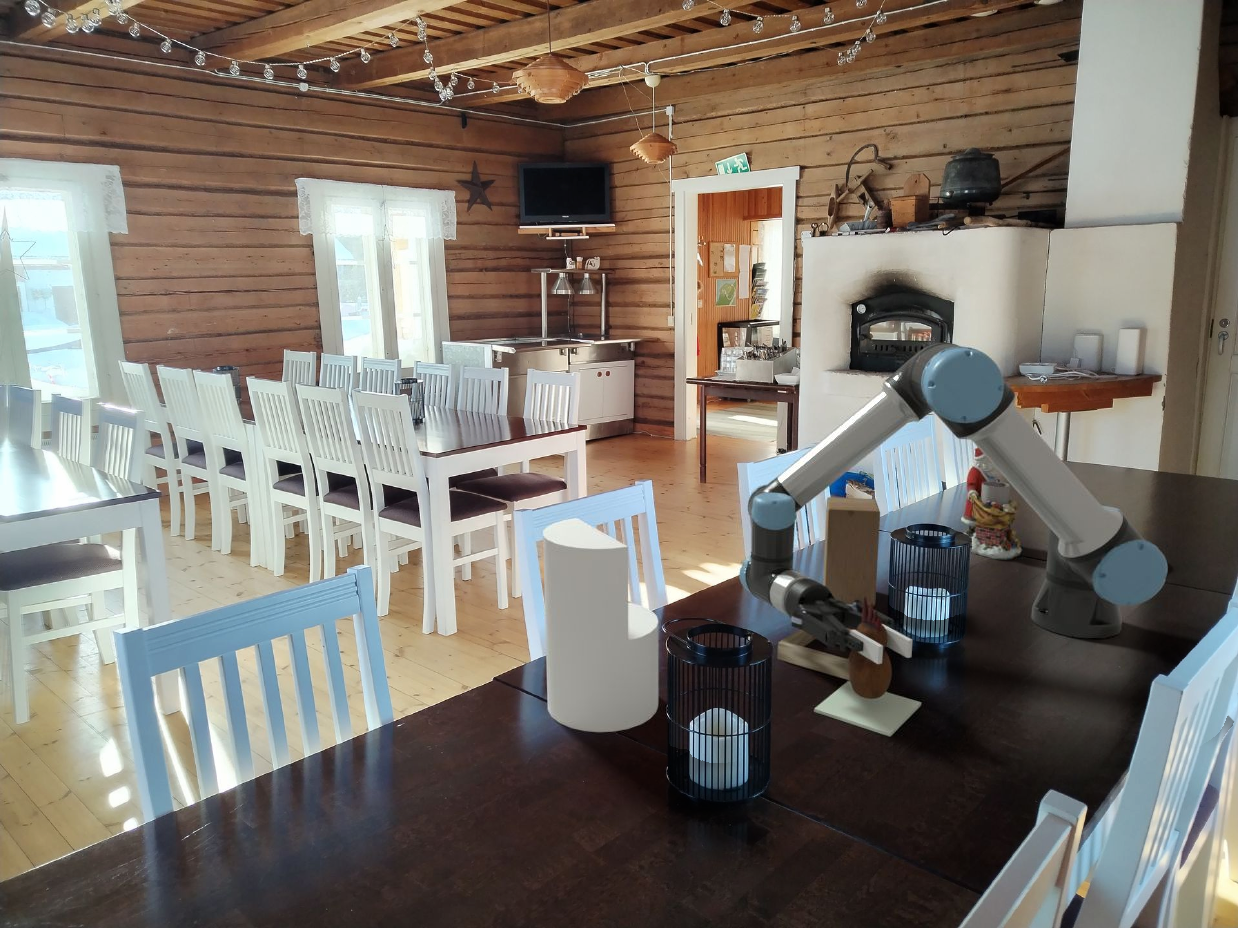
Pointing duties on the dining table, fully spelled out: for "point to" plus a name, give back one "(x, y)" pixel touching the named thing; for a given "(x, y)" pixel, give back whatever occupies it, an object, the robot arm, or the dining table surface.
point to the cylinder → (595, 633)
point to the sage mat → (868, 709)
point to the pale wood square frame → (811, 655)
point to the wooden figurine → (863, 671)
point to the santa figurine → (990, 512)
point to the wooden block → (851, 548)
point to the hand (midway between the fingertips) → (895, 651)
